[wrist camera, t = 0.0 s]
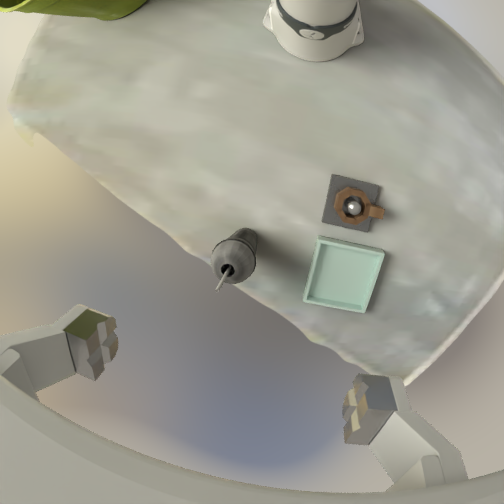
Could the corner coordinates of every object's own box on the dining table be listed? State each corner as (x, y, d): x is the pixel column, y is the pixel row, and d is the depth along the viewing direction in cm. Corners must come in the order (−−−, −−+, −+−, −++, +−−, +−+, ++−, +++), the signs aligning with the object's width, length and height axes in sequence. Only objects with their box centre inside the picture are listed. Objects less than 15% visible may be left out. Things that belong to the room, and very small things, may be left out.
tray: (317, 235, 56) (318, 239, 54) (381, 249, 55) (384, 253, 53) (302, 295, 61) (302, 301, 58) (362, 307, 60) (364, 313, 57)
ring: (331, 216, 53) (333, 220, 51) (338, 184, 51) (340, 186, 48) (375, 226, 53) (379, 230, 50) (383, 195, 50) (387, 198, 48)
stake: (331, 173, 52) (335, 176, 47) (377, 185, 51) (385, 189, 46) (321, 220, 55) (323, 228, 50) (366, 230, 54) (372, 239, 49)
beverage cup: (270, 230, 57) (255, 273, 39) (255, 262, 60) (234, 315, 41) (236, 214, 57) (204, 249, 39) (222, 246, 60) (187, 293, 41)
